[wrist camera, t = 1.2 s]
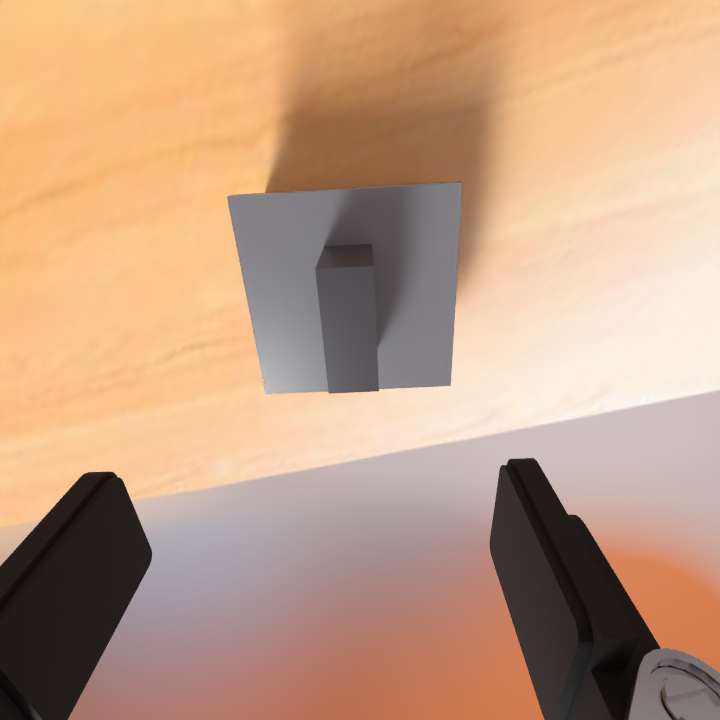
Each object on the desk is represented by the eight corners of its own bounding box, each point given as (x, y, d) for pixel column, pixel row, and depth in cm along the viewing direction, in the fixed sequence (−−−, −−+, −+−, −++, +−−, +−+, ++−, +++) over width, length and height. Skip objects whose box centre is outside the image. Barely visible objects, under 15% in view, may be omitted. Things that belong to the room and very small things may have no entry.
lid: (232, 195, 23) (193, 208, 18) (458, 181, 23) (488, 190, 17) (268, 386, 29) (248, 439, 24) (447, 378, 29) (467, 430, 23)
